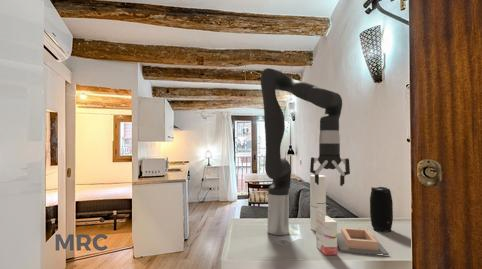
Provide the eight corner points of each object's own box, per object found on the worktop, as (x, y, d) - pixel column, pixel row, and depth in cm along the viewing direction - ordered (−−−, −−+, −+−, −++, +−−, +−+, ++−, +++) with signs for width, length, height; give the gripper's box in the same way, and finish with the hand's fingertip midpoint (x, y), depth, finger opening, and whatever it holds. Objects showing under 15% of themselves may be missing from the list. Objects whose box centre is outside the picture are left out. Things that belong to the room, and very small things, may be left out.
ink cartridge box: (338, 255, 88) (337, 213, 89) (324, 255, 88) (324, 213, 89) (327, 245, 97) (327, 207, 98) (315, 246, 97) (315, 207, 97)
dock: (340, 251, 91) (340, 240, 92) (333, 235, 109) (333, 225, 109) (388, 256, 88) (388, 244, 88) (373, 238, 105) (373, 228, 106)
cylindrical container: (327, 232, 113) (326, 176, 114) (311, 230, 114) (310, 176, 116) (325, 227, 120) (324, 175, 121) (309, 226, 121) (309, 174, 123)
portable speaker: (395, 233, 111) (394, 189, 112) (372, 231, 114) (371, 188, 115) (389, 227, 119) (388, 186, 120) (368, 226, 122) (367, 186, 123)
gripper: (310, 142, 94) (310, 185, 93) (350, 142, 90) (351, 187, 89) (310, 142, 101) (310, 182, 100) (347, 143, 97) (347, 184, 96)
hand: (329, 185), depth 95 cm, fingers open, 8 cm apart
